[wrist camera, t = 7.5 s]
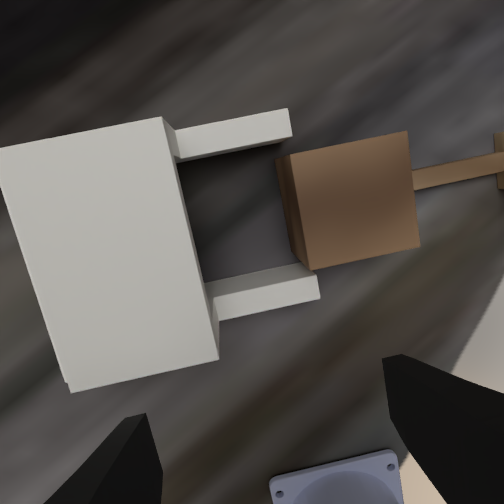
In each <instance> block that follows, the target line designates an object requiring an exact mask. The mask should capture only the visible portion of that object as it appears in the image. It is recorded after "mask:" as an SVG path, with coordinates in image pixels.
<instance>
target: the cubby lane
mask: <svg viewBox="0 0 504 504" xmlns="http://www.w3.org/2000/svg"><path fill="white" fill-rule="evenodd" d="M290 137H292V130H291V125H290V119H289V113H288V108H285V109H280V110H275V111H270V112H265V113H260V114H255V115H250V116H245V117H240V118H235V119H230V120H225V121H220V122H215V123H210V124H205V125H200V126H195V127H190V128H185V129H180V130H174V129H173V128H172V127H171V126H170V125H169V124H168V123H167V122H166V121H165V120H164V119H163V118H162V116H161V117H156V118H151V119H146V120H141V121H136V122H130V123H125V124H120V125H115V126H110V127H105V128H100V129H95V130H90V131H85V132H80V133H75V134H70V135H65V136H59V137H54V138H49V139H44V140H39V141H34V142H29V143H24V144H19V145H14V146H9V147H4V148H0V187H1V190H2V193H3V196H4V199H5V202H6V205H7V208H8V211H9V214H10V217H11V220H12V223H13V226H14V229H15V232H16V235H17V238H18V241H19V244H20V248H21V251H22V254H23V257H24V260H25V263H26V266H27V269H28V272H29V275H30V278H31V281H32V284H33V287H34V290H35V293H36V296H37V299H38V302H39V305H40V308H41V311H42V314H43V317H44V320H45V323H46V326H47V329H48V332H49V335H50V338H51V341H52V344H53V347H54V350H55V353H56V356H57V359H58V362H59V365H60V368H61V371H62V374H63V377H64V381H65V383H68V386H69V389H70V392H71V393H74V392H78V391H83V390H87V389H92V388H96V387H101V386H105V385H109V384H114V383H118V382H123V381H127V380H132V379H136V378H140V377H145V376H149V375H154V374H158V373H162V372H167V371H171V370H176V369H180V368H185V367H189V366H193V365H198V364H202V363H207V362H211V361H216V360H219V321H222V320H226V319H231V318H235V317H240V316H244V315H249V314H253V313H258V312H262V311H267V310H271V309H276V308H280V307H285V306H289V305H294V304H298V303H303V302H307V301H312V300H316V299H320V293H319V287H318V281H317V275H316V274H315V273H314V272H313V271H312V270H311V271H310V270H309V269H308V268H307V267H306V266H305V265H304V264H303V263H302V262H299V263H294V264H290V265H285V266H280V267H276V268H271V269H267V270H262V271H257V272H253V273H248V274H243V275H239V276H234V277H230V278H225V279H220V280H216V281H211V282H207V283H204V282H203V278H202V273H201V269H200V265H199V261H198V256H197V252H196V248H195V244H194V239H193V235H192V231H191V227H190V223H189V218H188V214H187V210H186V206H185V201H184V197H183V193H182V189H181V184H180V180H179V176H178V172H177V167H176V163H180V162H185V161H190V160H195V159H200V158H205V157H210V156H215V155H220V154H225V153H230V152H235V151H240V150H245V149H249V148H254V147H259V146H264V145H269V144H274V143H279V142H283V141H284V140H286V139H288V138H290Z"/></svg>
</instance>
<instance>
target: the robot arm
mask: <svg viewBox="0 0 504 504" xmlns="http://www.w3.org/2000/svg"><path fill="white" fill-rule="evenodd" d="M382 363H383V370H384V377H385V384H386V391H387V398H388V406H389V413H390V418H391V420H392V422H393V424H394V426H395V428H396V430H397V431H398V433H399V435H400V437H401V439H402V440H403V442H404V444H405V446H406V447H407V449H408V450H409V452H410V453H411V455H412V456H413V457H414V459H415V460H416V462H417V463H418V464H419V466H420V467H421V469H422V470H423V471H424V473H425V474H426V475H427V477H428V478H429V480H430V481H431V482H432V484H433V485H434V486H435V488H436V489H437V490H438V492H439V493H440V495H441V496H442V497H443V499H444V500H445V501H446V503H447V504H504V393H500V392H497V391H495V390H492V389H489V388H486V387H483V386H480V385H478V384H475V383H472V382H469V381H467V380H464V379H462V378H459V377H457V376H454V375H452V374H449V373H447V372H445V371H442V370H440V369H437V368H435V367H433V366H430V365H428V364H426V363H423V362H421V361H418V360H416V359H414V358H411V357H408V356H406V355H403V354H400V355H395V356H391V357H387V358H382ZM389 464H391V465H390V466H388V465H389ZM162 480H163V470H162V467H161V463H160V460H159V457H158V453H157V450H156V446H155V443H154V439H153V436H152V432H151V429H150V426H149V422H148V419H147V415H146V413H144V414H140V415H136V416H131V417H127V418H125V419H124V420H123V421H122V422H121V423H120V424H119V425H118V426H117V427H116V428H115V429H114V430H113V431H112V432H111V433H110V434H109V436H108V437H107V438H106V439H105V440H104V441H103V442H102V443H101V445H100V446H99V447H98V448H97V449H96V450H95V451H94V452H93V453H92V454H91V456H90V457H89V458H88V459H87V460H86V461H85V462H84V463H83V464H82V465H81V466H80V468H79V469H78V470H77V471H76V472H75V473H74V474H73V475H72V476H71V477H70V478H69V479H68V480H67V481H66V482H65V483H64V484H63V485H62V486H61V487H60V488H59V489H58V490H57V491H56V492H55V493H54V494H53V495H52V496H51V497H50V498H49V499H48V500H47V501H46V502H45V503H44V504H161V495H162ZM269 486H270V492H271V496H272V500H273V504H404V502H403V494H402V487H401V480H400V473H399V466H398V459H397V456H396V454H395V453H394V451H392V450H390V449H387V450H382V451H378V452H374V453H370V454H366V455H362V456H358V457H353V458H349V459H345V460H341V461H337V462H333V463H329V464H324V465H320V466H316V467H312V468H308V469H304V470H299V471H295V472H291V473H287V474H283V475H279V476H275V477H273V478H272V479H271V480H270V482H269ZM277 491H282V492H280V493H276V492H277Z"/></svg>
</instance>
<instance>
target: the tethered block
mask: <svg viewBox="0 0 504 504" xmlns="http://www.w3.org/2000/svg"><path fill="white" fill-rule="evenodd" d="M494 142H495V153H490V154H486V155H481V156H476V157H471V158H467V159H462V160H457V161H452V162H447V163H443V164H438V165H433V166H428V167H423V168H419V169H414V170H412V169H411V160H410V151H409V143H408V134H407V131H403V132H398V133H393V134H388V135H383V136H379V137H374V138H369V139H364V140H359V141H354V142H349V143H344V144H339V145H334V146H330V147H325V148H320V149H315V150H310V151H305V152H300V153H295V154H290V155H287V156H284V157H281V158H277V159H274V160H275V165H276V171H277V176H278V182H279V187H280V192H281V198H282V203H283V209H284V214H285V220H286V225H287V231H288V236H289V241H290V247H291V251H292V252H293V253H294V255H295V256H296V257H297V258H298V259H299V260H300V261H301V262H302V263H303V264H304V265H305V266H306V267H307V268H308V269H309V270H310V271H311V270H316V269H320V268H325V267H329V266H334V265H338V264H343V263H348V262H352V261H357V260H361V259H366V258H371V257H375V256H380V255H384V254H389V253H393V252H398V251H403V250H407V249H412V248H416V247H420V240H419V231H418V222H417V213H416V204H415V196H414V190H418V189H422V188H427V187H432V186H437V185H441V184H446V183H451V182H456V181H460V180H465V179H470V178H474V177H479V176H484V175H489V174H493V173H497V186H498V189H504V132H500V133H495V134H494Z"/></svg>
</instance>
